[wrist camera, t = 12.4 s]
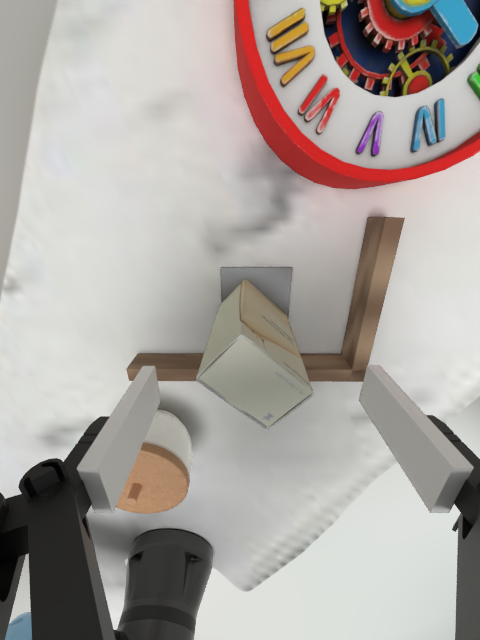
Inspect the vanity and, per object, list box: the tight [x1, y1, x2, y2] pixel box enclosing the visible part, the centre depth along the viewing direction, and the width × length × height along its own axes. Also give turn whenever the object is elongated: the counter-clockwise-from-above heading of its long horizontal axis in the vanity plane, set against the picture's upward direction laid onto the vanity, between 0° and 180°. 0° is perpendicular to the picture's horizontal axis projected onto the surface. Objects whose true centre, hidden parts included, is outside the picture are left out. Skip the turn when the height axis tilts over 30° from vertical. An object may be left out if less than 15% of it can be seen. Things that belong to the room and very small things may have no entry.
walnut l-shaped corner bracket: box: [127, 217, 405, 382], centre depth 24 cm, size 16×25×3 cm, turn 90°
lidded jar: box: [116, 409, 192, 513], centre depth 29 cm, size 11×11×9 cm
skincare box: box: [196, 279, 314, 429], centre depth 20 cm, size 6×4×12 cm
